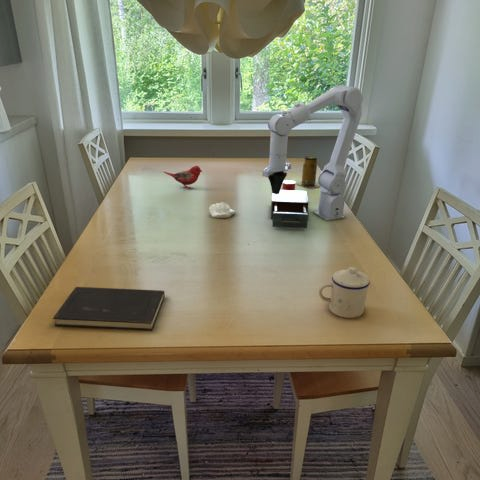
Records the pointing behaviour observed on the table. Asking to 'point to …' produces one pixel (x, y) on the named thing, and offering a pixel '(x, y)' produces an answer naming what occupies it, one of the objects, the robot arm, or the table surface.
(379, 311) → the table surface
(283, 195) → the cabinet
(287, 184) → the can
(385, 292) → the table surface
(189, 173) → the decorative bird figurine
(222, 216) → the white lumpy piece
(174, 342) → the table surface
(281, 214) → the drawer
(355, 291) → the teacup with lid
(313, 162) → the condiment
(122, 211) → the table surface
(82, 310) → the hardcover book
